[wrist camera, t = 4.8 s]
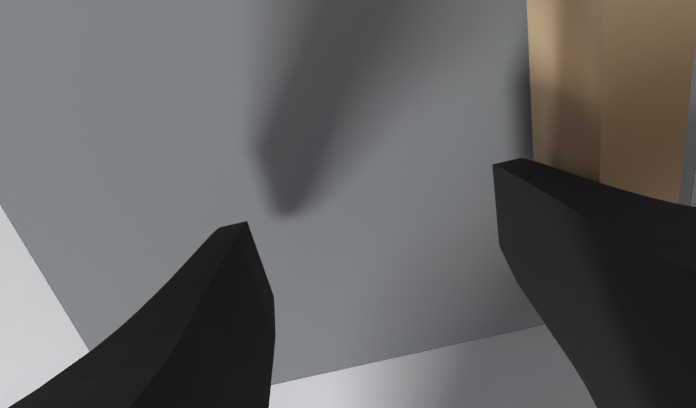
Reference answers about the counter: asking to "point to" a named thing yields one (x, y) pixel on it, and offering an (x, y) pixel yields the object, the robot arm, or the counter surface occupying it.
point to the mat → (276, 160)
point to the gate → (612, 89)
